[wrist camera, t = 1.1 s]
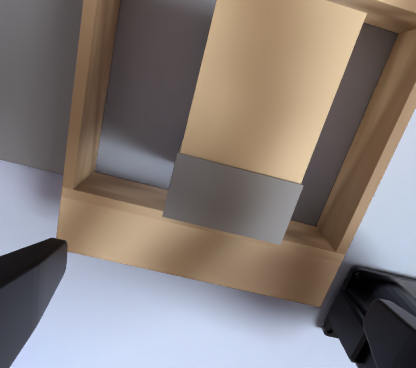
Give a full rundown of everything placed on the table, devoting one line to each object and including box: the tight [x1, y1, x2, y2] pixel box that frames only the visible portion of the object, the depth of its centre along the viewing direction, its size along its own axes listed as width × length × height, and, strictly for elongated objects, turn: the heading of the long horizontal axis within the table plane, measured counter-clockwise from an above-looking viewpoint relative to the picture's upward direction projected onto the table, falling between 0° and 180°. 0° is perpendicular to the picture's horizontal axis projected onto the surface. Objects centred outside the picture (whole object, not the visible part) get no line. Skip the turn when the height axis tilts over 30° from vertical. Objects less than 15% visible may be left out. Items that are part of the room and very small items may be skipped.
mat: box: [0, 0, 83, 175], centre depth 17 cm, size 10×14×1 cm
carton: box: [56, 0, 416, 307], centre depth 17 cm, size 17×21×4 cm
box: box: [162, 0, 367, 245], centre depth 15 cm, size 5×9×8 cm, turn 165°
